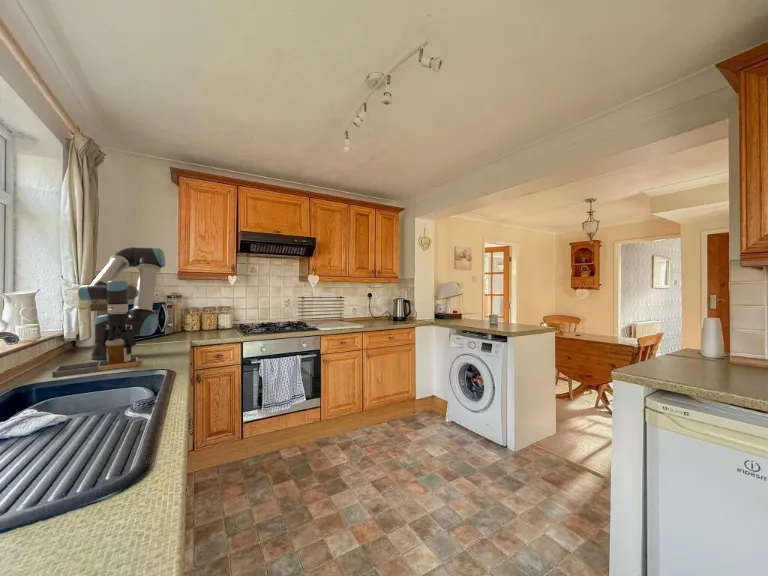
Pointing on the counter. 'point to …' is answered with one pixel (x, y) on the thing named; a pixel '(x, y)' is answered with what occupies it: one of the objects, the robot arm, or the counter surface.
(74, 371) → the cup carrier
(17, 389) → the counter surface
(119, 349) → the disposable coffee cup
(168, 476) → the counter surface
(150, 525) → the counter surface
